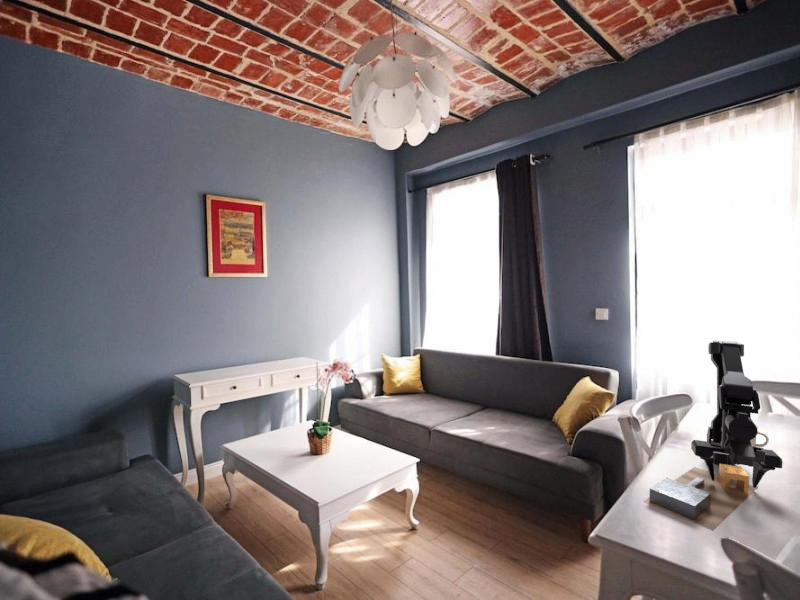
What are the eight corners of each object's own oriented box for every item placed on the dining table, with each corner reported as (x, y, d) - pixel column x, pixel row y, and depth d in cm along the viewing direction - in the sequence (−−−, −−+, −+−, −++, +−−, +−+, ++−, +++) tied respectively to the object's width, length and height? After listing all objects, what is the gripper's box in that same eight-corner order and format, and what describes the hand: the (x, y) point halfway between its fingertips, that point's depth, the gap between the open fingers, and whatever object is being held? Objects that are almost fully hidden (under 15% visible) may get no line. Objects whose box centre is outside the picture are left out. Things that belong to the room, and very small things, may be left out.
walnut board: (694, 470, 125) (694, 466, 125) (757, 491, 113) (757, 487, 113) (643, 505, 106) (643, 501, 106) (712, 535, 94) (713, 530, 94)
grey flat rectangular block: (684, 477, 119) (685, 465, 118) (727, 492, 110) (727, 479, 110) (649, 501, 106) (649, 488, 106) (694, 520, 98) (695, 506, 98)
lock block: (718, 480, 117) (719, 463, 116) (740, 484, 115) (741, 466, 114) (725, 490, 111) (725, 472, 111) (748, 494, 109) (749, 476, 109)
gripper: (701, 433, 109) (699, 490, 110) (793, 444, 101) (790, 506, 102) (691, 419, 119) (689, 472, 120) (774, 429, 111) (772, 485, 112)
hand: (733, 483), depth 113 cm, fingers open, 9 cm apart
